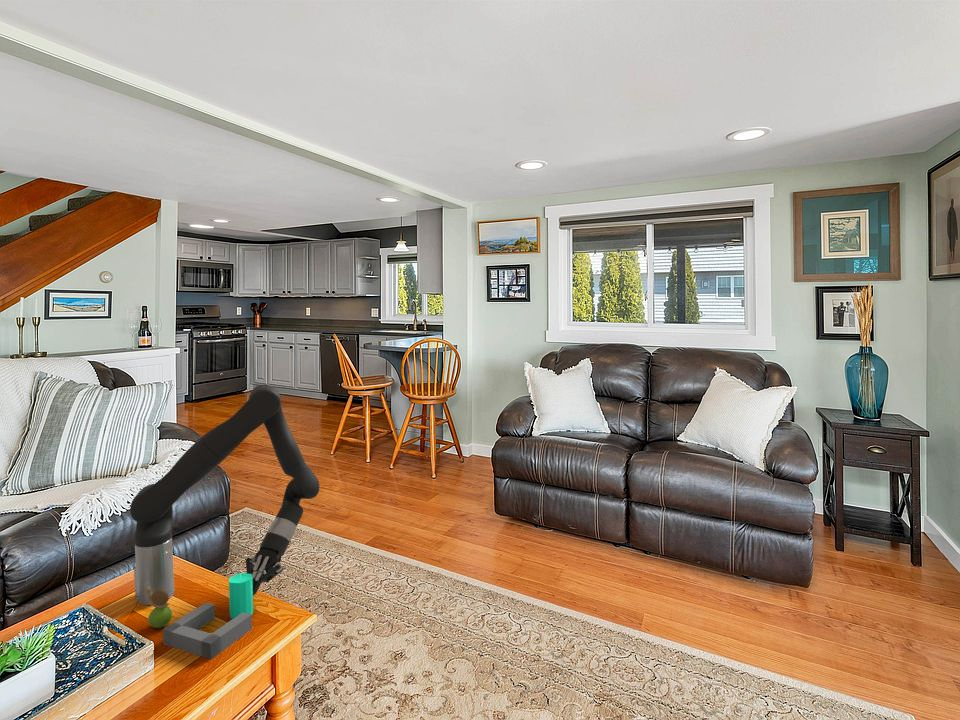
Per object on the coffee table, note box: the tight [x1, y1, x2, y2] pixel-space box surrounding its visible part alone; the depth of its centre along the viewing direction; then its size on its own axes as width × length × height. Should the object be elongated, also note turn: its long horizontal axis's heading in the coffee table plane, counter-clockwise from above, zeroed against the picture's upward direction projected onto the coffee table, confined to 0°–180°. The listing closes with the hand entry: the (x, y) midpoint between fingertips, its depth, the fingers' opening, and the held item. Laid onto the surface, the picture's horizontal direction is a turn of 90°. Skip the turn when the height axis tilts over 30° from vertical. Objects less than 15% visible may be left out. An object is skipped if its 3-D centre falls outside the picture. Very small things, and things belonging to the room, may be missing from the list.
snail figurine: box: [144, 582, 173, 629], centre depth 137 cm, size 5×6×12 cm
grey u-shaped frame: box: [162, 602, 253, 660], centre depth 133 cm, size 16×13×4 cm
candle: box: [228, 572, 254, 620], centre depth 143 cm, size 6×6×12 cm
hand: (249, 595), depth 146 cm, fingers closed
